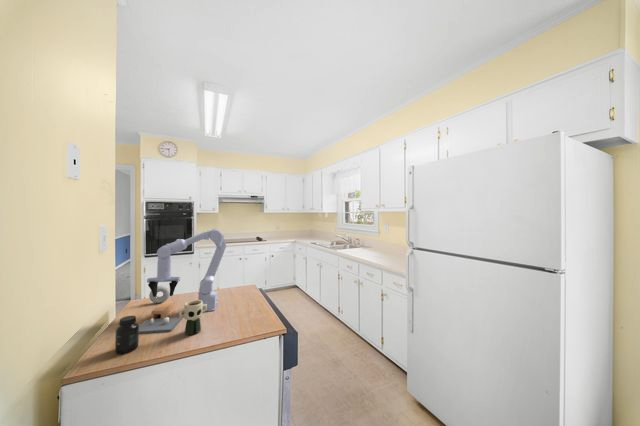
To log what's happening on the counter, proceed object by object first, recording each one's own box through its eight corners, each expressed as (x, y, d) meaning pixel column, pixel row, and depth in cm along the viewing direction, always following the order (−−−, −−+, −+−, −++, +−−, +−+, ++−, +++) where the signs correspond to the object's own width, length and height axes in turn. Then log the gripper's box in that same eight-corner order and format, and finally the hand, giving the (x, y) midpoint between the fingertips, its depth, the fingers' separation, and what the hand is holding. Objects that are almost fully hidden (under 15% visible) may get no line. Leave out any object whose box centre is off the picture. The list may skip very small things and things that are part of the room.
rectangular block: (163, 310, 123) (163, 302, 124) (173, 309, 124) (173, 301, 124) (151, 320, 112) (151, 311, 112) (162, 319, 113) (162, 310, 113)
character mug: (180, 339, 95) (181, 308, 95) (177, 333, 101) (177, 303, 101) (208, 331, 103) (209, 302, 103) (203, 325, 108) (204, 297, 108)
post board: (181, 319, 113) (182, 312, 113) (171, 331, 102) (171, 323, 102) (147, 321, 111) (148, 314, 111) (132, 334, 99) (132, 326, 99)
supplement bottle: (110, 352, 86) (111, 320, 86) (131, 342, 92) (132, 313, 92) (122, 356, 83) (123, 323, 84) (142, 346, 90) (143, 316, 90)
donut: (170, 300, 137) (170, 283, 137) (169, 302, 134) (170, 285, 134) (149, 303, 132) (149, 286, 132) (148, 305, 129) (148, 287, 129)
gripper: (143, 271, 113) (143, 299, 113) (176, 270, 116) (175, 297, 116) (151, 268, 120) (150, 294, 120) (181, 267, 123) (181, 293, 123)
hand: (163, 295), depth 118 cm, fingers open, 7 cm apart
